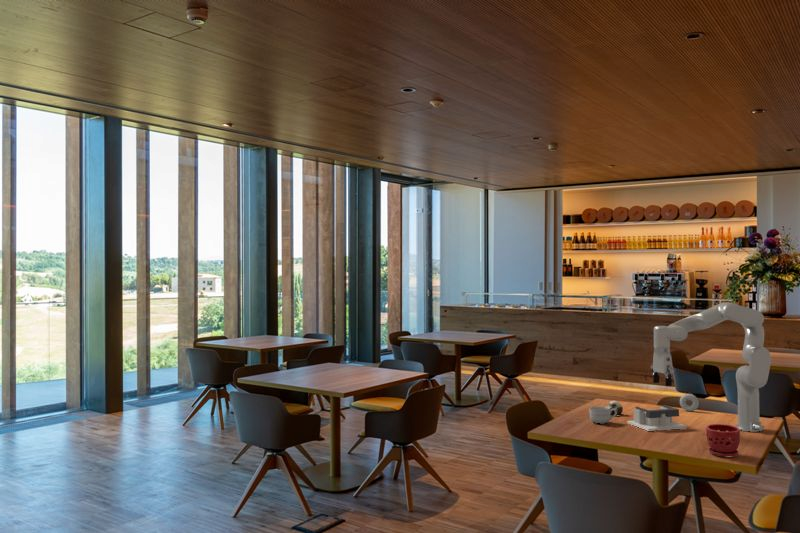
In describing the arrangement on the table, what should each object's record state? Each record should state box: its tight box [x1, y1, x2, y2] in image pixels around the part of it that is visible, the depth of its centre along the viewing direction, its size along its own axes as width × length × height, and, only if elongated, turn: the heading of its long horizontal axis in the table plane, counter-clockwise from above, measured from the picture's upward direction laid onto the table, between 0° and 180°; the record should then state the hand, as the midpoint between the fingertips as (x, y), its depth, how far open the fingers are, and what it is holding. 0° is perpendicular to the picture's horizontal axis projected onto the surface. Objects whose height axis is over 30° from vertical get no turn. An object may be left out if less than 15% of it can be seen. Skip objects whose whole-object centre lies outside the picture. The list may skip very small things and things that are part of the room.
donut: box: [679, 393, 700, 412], centre depth 369 cm, size 10×4×10 cm, turn 60°
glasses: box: [634, 404, 680, 418], centre depth 334 cm, size 12×17×4 cm
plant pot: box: [705, 423, 741, 457], centre depth 282 cm, size 13×13×12 cm
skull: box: [605, 400, 624, 417], centre depth 363 cm, size 12×10×10 cm
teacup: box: [588, 406, 617, 425], centre depth 343 cm, size 14×11×8 cm
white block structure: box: [626, 406, 688, 432], centre depth 334 cm, size 18×22×8 cm
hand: (662, 384), depth 330 cm, fingers open, 9 cm apart
